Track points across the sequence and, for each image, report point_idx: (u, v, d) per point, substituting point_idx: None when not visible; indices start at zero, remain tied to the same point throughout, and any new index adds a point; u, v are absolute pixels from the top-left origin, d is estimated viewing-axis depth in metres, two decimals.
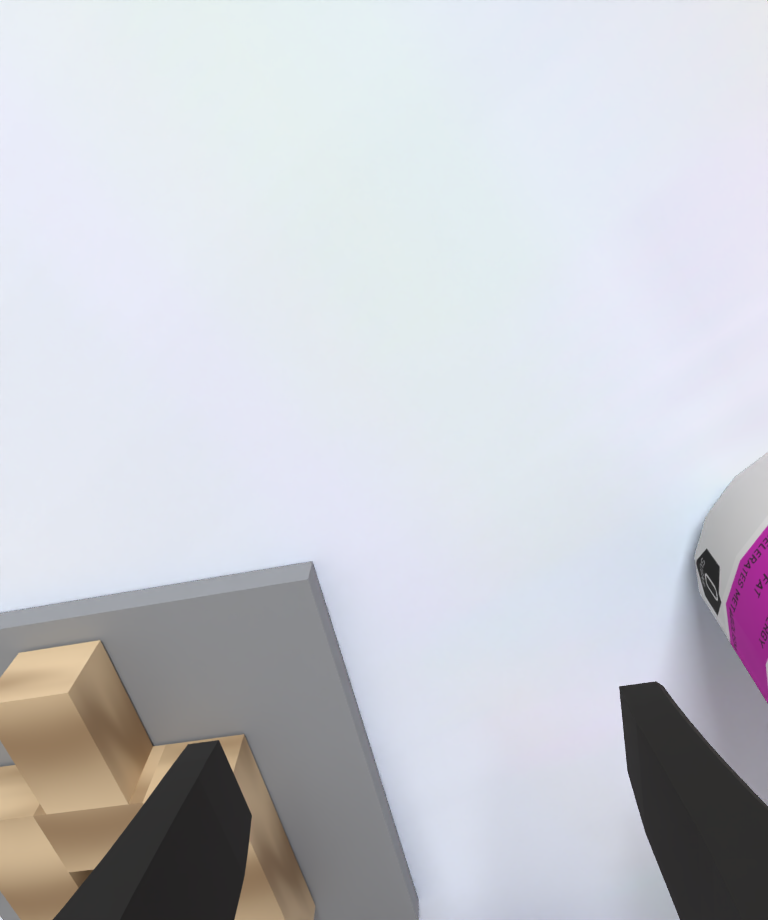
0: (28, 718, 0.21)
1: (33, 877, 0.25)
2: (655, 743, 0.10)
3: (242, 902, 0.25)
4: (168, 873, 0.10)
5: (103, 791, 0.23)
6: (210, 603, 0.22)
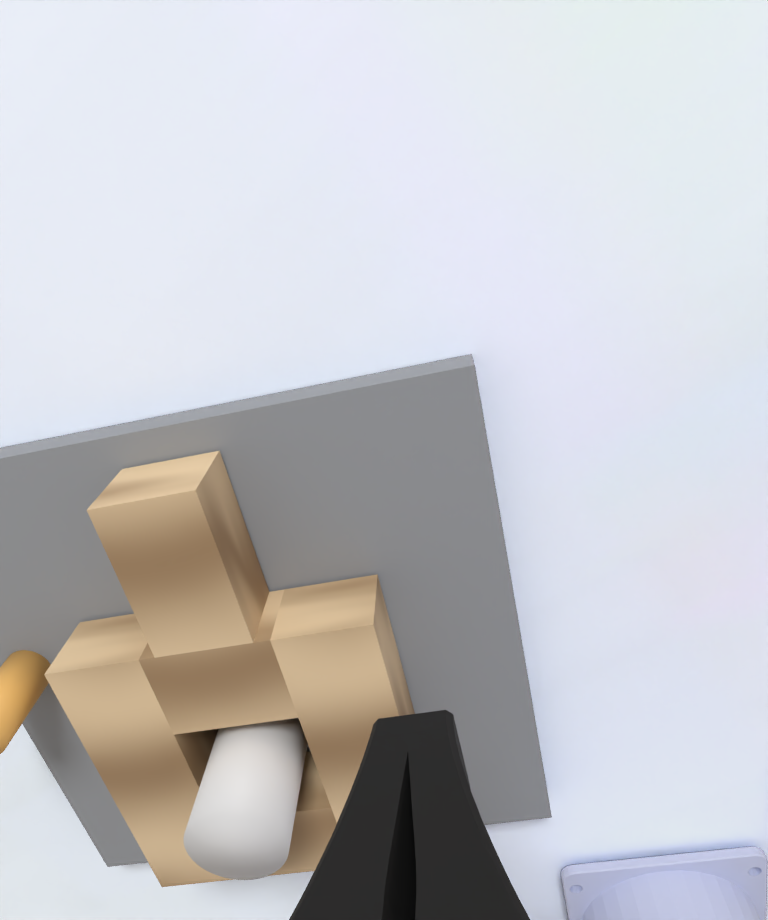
0: (144, 526, 0.18)
1: (132, 741, 0.21)
2: (414, 773, 0.10)
3: None
4: (402, 848, 0.10)
5: (225, 626, 0.19)
6: (354, 400, 0.19)
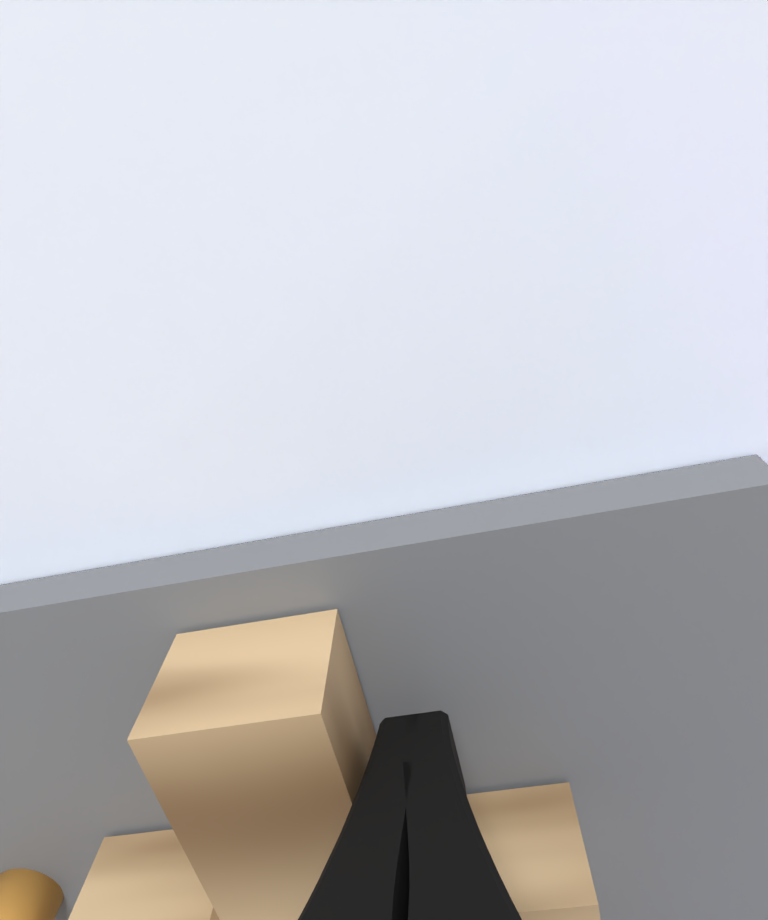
0: (226, 764, 0.10)
1: None
2: (409, 773, 0.10)
3: None
4: None
5: None
6: (569, 534, 0.11)
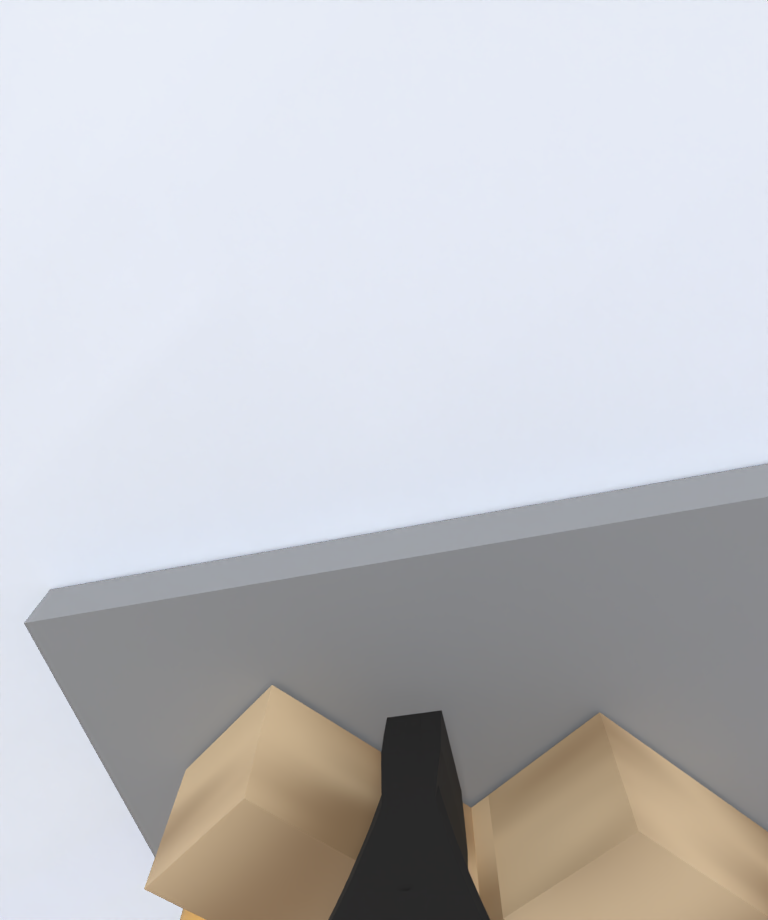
0: (224, 871, 0.11)
1: None
2: (386, 776, 0.10)
3: None
4: None
5: None
6: None
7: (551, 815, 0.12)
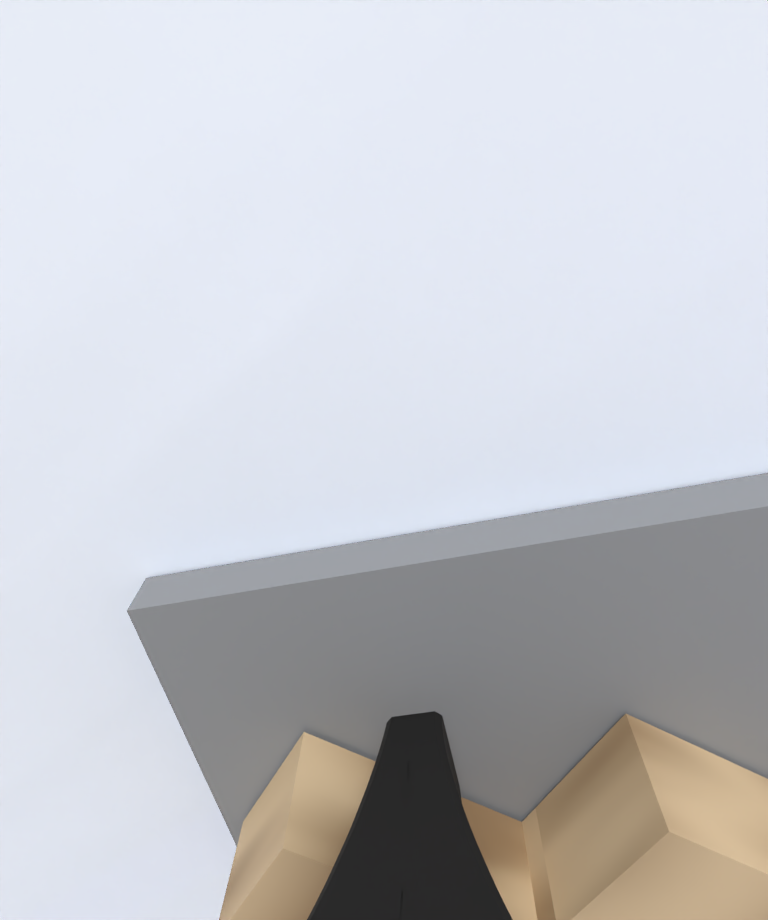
0: (282, 917, 0.12)
1: None
2: (402, 774, 0.10)
3: None
4: None
5: None
6: None
7: (591, 823, 0.12)
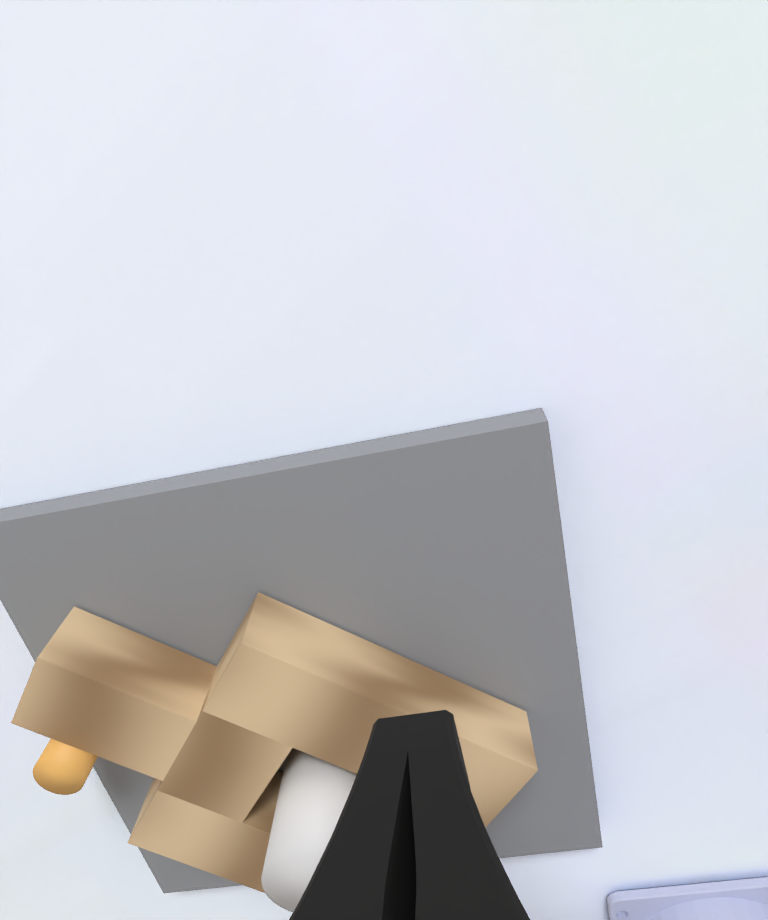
0: (47, 704, 0.21)
1: (228, 846, 0.23)
2: (414, 773, 0.10)
3: None
4: (402, 847, 0.10)
5: (167, 725, 0.21)
6: (429, 453, 0.19)
7: (229, 652, 0.21)
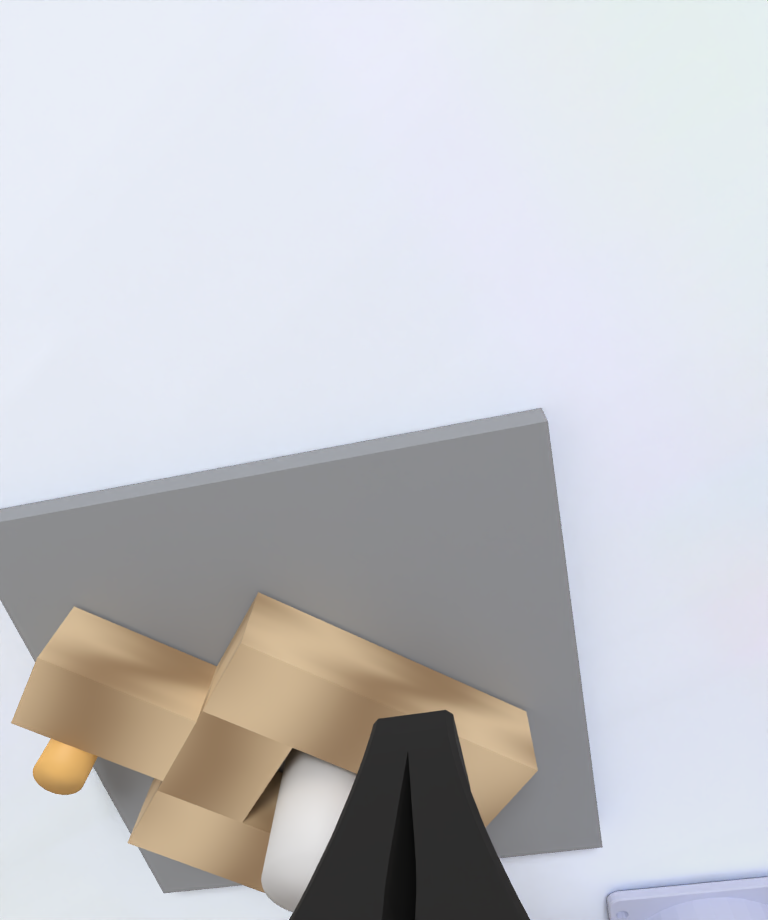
0: (47, 704, 0.21)
1: (228, 847, 0.23)
2: (414, 773, 0.10)
3: None
4: (402, 847, 0.10)
5: (167, 725, 0.21)
6: (429, 453, 0.19)
7: (229, 653, 0.21)
